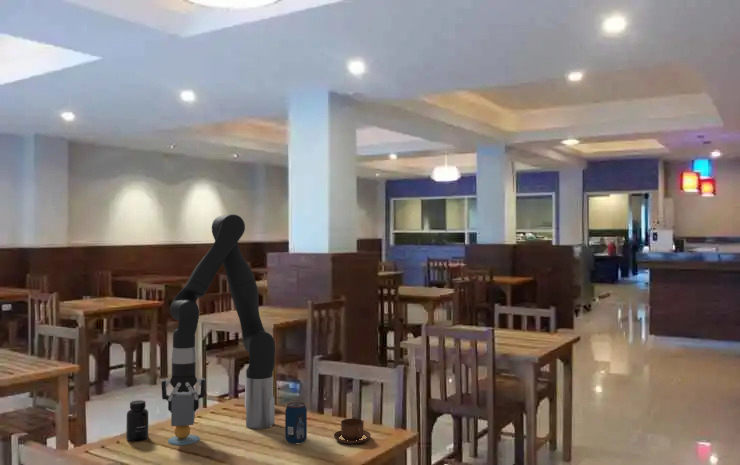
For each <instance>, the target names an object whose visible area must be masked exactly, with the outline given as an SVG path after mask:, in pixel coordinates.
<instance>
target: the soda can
mask: <svg viewBox="0 0 740 465" xmlns="http://www.w3.org/2000/svg"><path fill="white" fill-rule="evenodd" d="M307 410H308V409H307V407H306V404H305V403H304V402H299V401H297V402H295V401H294V402H289V403H287V406H286V408H285V412H284V413H285V414H284V415H285V418H284V419H285V420H284V424H285V427H284V429H285V430H284V434H285V436H284V438H285V440H286V442H287V444H290V443H292V444H291V445H297V444H296V443H301V444H303V443H305V442H306V439H307V436H308V435H307V434H308V432H307V431H308V426H307V425H308V420H307V419H308V418H307V416H308V414H307V413H308V411H307ZM302 442H303V443H302Z"/></svg>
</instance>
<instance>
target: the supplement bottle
mask: <svg viewBox="0 0 740 465" xmlns="http://www.w3.org/2000/svg"><path fill="white" fill-rule="evenodd" d="M125 428H126V431H125V432H126V435H125V437H126V440H127V441H130V442H140V441H144V440H146V439H148V437H149V410H148V409H147V408H146V401H145V400H138V399H137V400H132V401H131V402H130V403H129V410H128V411H127V412H126V426H125Z"/></svg>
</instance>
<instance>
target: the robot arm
mask: <svg viewBox="0 0 740 465" xmlns="http://www.w3.org/2000/svg"><path fill="white" fill-rule="evenodd" d="M245 229H246V224H245V221H244V219H243V218H242V217H241V216H240V215H237V214H233V213H232V214H226V215H225V214H224V215H219V216H217V217H216V218H214V220H212V224H211V233H212V236H213V239H214V242H213V244H212V246H211V247H210V249H209V250H208V251H207V253H206V254H205V255H204V256H203V257H202V259H201V260H200V261H199V263H197V265H196V266H195V267H194V269H193V271H192V272H191V275H190V276H189V278H188V280H187V282H186V284H185V285H184V287H183V288H182V289H181V290H180V291H179V293H177V295H176V296H175V297H174V299H173V300H172V302H171V305H170V308H169V313H170V316H171V317H172V319H174V320H177V321H178V323H177V324H178V325H177V328H176V329H174V331H173V333H172V334H173V335H172V352H171V378H170V379H162V380H161V398H162V400H165V401H167V402H168V403H167V410H168V412H170V413H171V403H172V396H174V395H175V394H176V392H189V391H190V393H191V394H192V395H194V411H195V412H197V410H199V406H200V405H199V403H200V401H199V400H200V399H203V398H205V392H206V391H205V390H206V389H205V388H206V378H205V377H202V378H197V375H196V374H197V373H196V369H197V368H196V366H197V363H196V362H197V361H196V360H197V355H196V354H197V353H196V332H197V328H198V324H199V319H200V309H199V306H198V304H197V303H196V302H197V301H198V299H199V298H202V297H204V296H205V295H206V294H207V292H208V290H209V288H210V286H211V284H212V282H213V281H214V279H215V277H216V274H217V273H218V271H219V269H220V268H221V266H222V265H223V268H224V272H225V276H226V279H227V283H228V288H229V291H230V295H231V298H232V301H233V304H234V307H235V311H236V313H237V317H238V319H239V324H240V329H241V330H240V331H241V335H242V336H241V337H242V341H243V346H244V349H245V351H246V352H247V353H249V357H248V367H247V368H246V372H245V373H246V374H245V375H246V376H245V377H246V409H245V417H246V418H245V421H246V424H245V425H246V427H247V428H249V429H255V430H256V429H258V430H260V429H270V428H271V427H272V426H273V425H274V424H275V396H274V395H273V394H274V392H273V390H274V386H273V385H274V373H273V372H274V369H275V364H276V343H275V342H276V341H275V338H274V337H273V336H272V334H270V333H269V332H267V331H266V330H265V328H264V325H263V322H262V320H261V315H260V309H259V306H260V305H259V303H260V302H259V301H260V300H259V289H258V286H257V282H256V277H255V275H254V272H253V271H252V269H251V267H250V265H249V264H248V263H247V261H246V259H245V257H244V256H243V254H242V252H241V249H240V245H239V241H240V239H241V238H242V236H243V235H244V234H245ZM197 383H198V385H199V386H200V393H198V392H197V390H196V389H195V385H196V384H197ZM169 384H170V385H171V386H172V387H173V389H172V390H171V393H170V394H167V392H168V391H167V390H168V389H167V388H168V387H169Z"/></svg>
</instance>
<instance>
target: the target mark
mask: <svg viewBox="0 0 740 465" xmlns="http://www.w3.org/2000/svg"><path fill="white" fill-rule="evenodd" d="M200 439H201V438H200V436H198V435H194V434H189V435H188V436H187V437H186V438H184V439H179V438H177V437H176V435H175V436H172V437H170V438H169V439H168V440H167V443H168V444H170V445H172V446H186V445H193V444H196V443H198V442H199V441H200Z"/></svg>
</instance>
